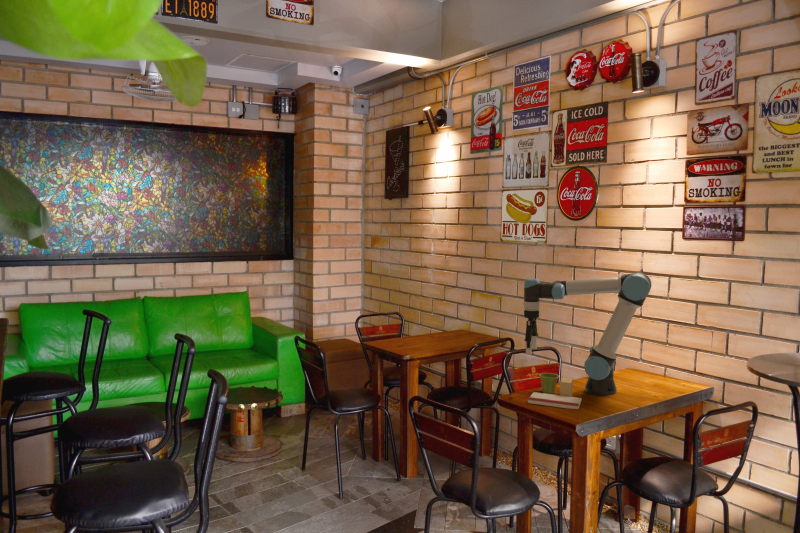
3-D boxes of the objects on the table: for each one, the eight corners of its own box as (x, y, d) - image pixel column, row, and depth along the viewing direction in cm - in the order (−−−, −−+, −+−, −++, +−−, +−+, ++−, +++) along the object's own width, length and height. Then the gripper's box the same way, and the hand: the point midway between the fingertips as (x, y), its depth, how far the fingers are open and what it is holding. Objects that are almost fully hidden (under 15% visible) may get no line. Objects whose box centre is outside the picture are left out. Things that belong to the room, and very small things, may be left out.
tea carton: (572, 394, 295) (572, 379, 294) (570, 399, 288) (570, 383, 287) (561, 393, 297) (562, 377, 296) (559, 397, 290) (559, 381, 289)
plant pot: (554, 396, 292) (555, 378, 291) (536, 393, 297) (536, 375, 296) (560, 391, 300) (561, 374, 299) (542, 388, 305) (542, 372, 304)
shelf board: (581, 401, 285) (581, 395, 284) (578, 409, 272) (578, 403, 271) (533, 394, 294) (533, 389, 293) (527, 402, 281) (528, 397, 281)
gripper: (528, 306, 311) (528, 346, 312) (519, 312, 288) (518, 355, 290) (543, 306, 308) (542, 347, 310) (534, 313, 285) (534, 357, 287)
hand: (531, 351), depth 300 cm, fingers open, 13 cm apart
